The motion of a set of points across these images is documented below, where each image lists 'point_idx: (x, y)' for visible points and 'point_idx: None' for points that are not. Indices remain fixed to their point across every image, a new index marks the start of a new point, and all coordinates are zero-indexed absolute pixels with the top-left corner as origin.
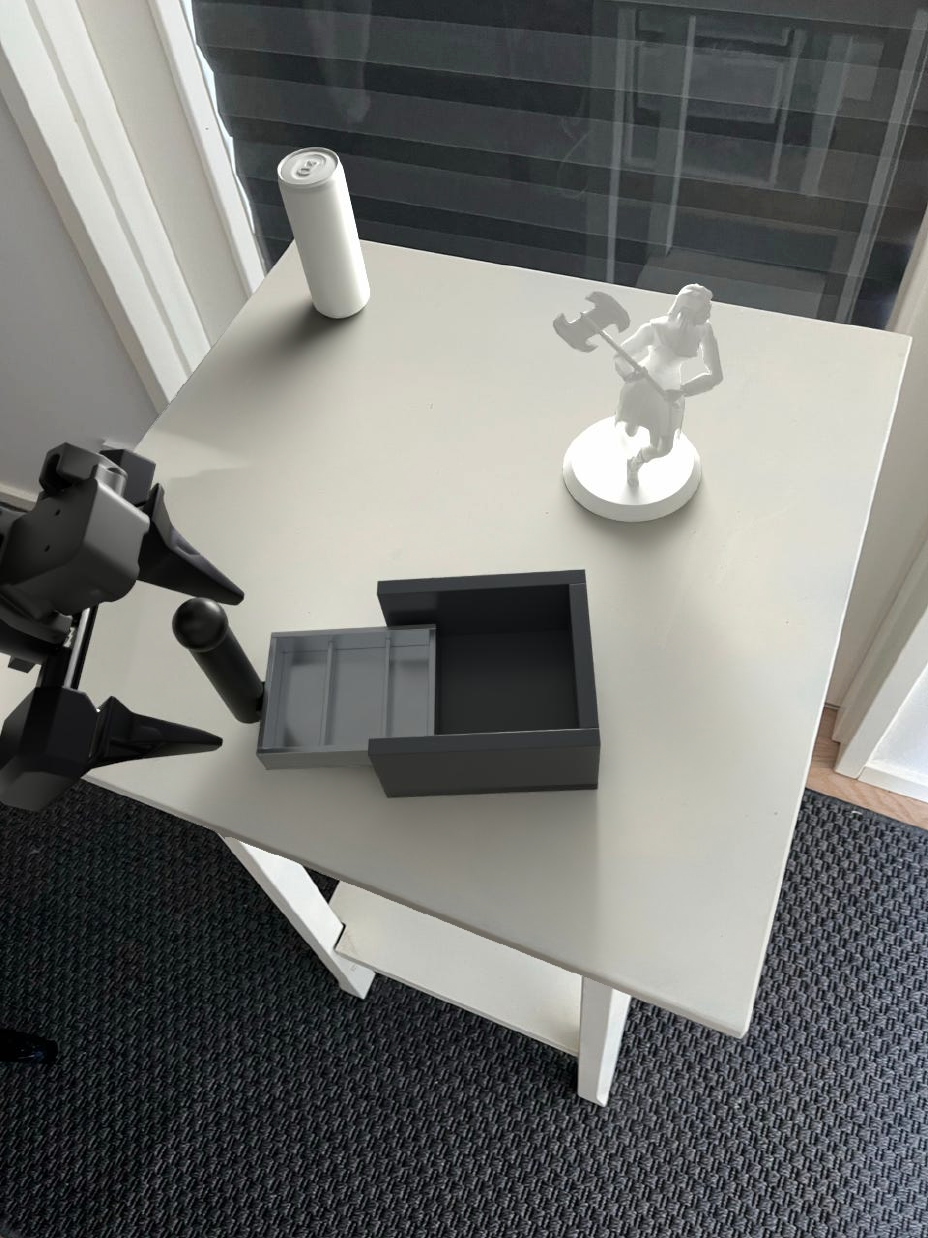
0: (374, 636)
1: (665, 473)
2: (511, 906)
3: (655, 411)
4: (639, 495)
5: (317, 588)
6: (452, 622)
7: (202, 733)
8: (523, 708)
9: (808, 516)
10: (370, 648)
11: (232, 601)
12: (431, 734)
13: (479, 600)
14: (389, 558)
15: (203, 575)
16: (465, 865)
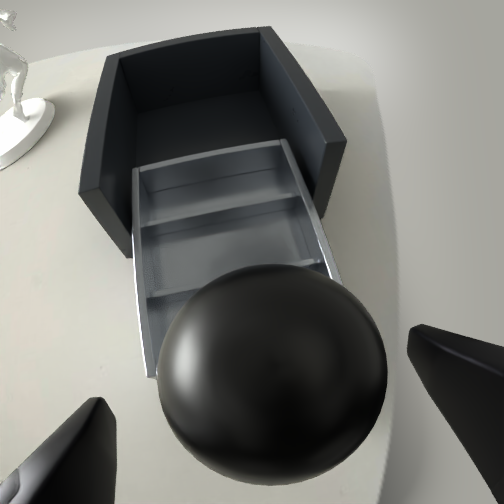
0: (143, 234)
1: (28, 107)
2: (369, 126)
3: (4, 55)
4: (37, 113)
5: (70, 363)
6: (127, 168)
7: (441, 340)
8: (212, 123)
9: (78, 61)
10: (153, 257)
11: (110, 421)
12: (272, 142)
13: (116, 117)
14: (39, 286)
15: (64, 463)
16: (356, 152)
